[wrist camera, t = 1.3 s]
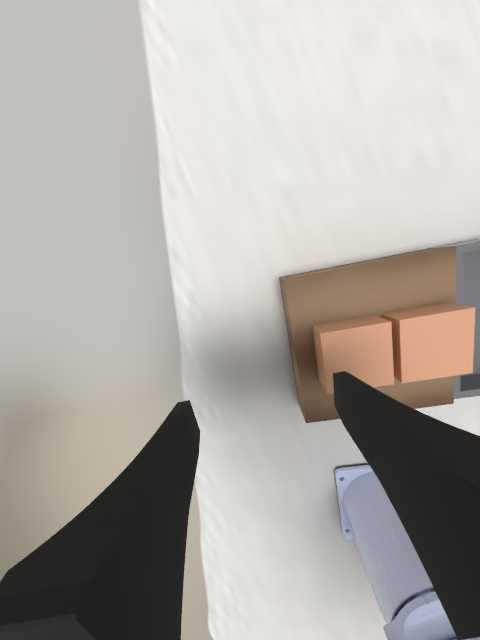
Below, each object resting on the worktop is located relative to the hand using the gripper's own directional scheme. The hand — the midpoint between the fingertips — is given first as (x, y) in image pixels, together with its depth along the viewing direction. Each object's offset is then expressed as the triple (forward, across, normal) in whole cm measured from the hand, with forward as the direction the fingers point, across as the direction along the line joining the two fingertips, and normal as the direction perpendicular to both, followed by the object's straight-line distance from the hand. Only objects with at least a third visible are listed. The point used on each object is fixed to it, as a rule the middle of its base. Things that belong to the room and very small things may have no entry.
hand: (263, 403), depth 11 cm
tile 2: (+6, -7, +2) cm, 9 cm away
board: (+9, -9, +2) cm, 13 cm away
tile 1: (+6, -12, +2) cm, 13 cm away
